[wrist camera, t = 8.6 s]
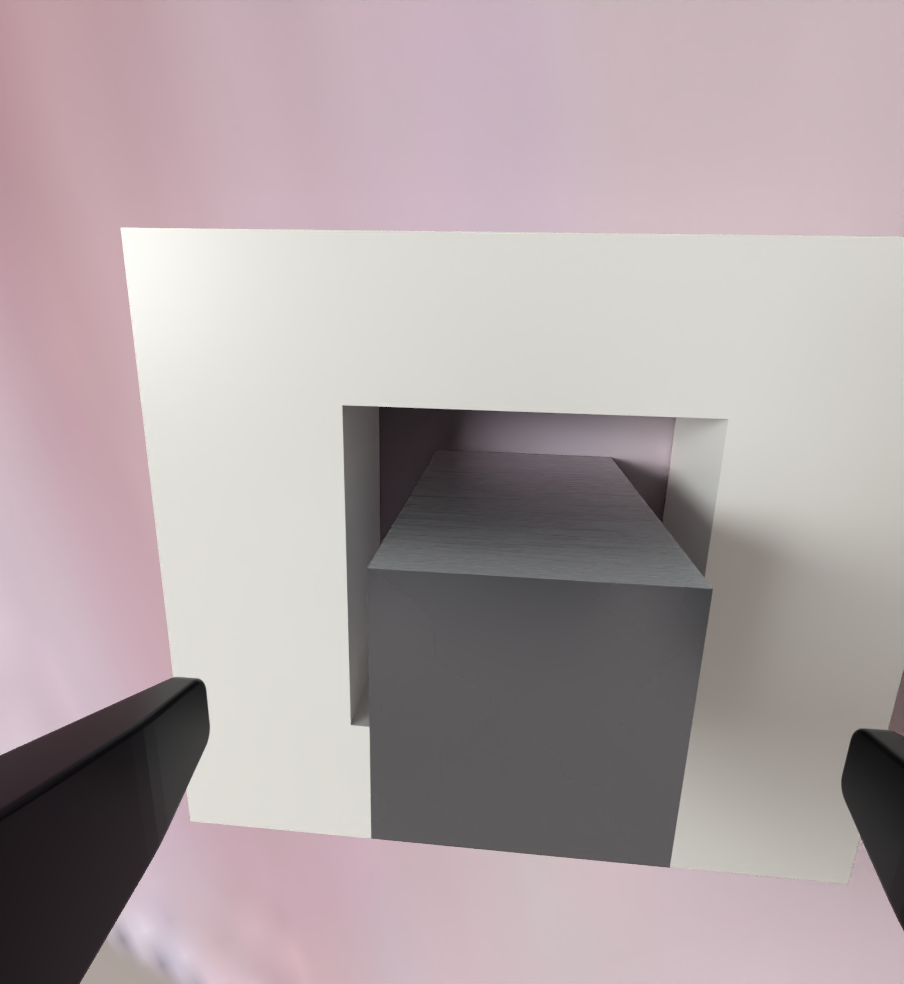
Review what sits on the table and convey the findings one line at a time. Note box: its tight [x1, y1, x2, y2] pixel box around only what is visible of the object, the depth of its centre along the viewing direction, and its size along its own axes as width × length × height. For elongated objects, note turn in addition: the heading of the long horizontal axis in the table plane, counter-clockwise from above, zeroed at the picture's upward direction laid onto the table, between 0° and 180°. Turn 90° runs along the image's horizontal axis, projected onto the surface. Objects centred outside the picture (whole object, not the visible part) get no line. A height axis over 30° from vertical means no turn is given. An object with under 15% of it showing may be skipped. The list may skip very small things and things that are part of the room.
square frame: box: [121, 228, 904, 884], centre depth 14 cm, size 16×14×4 cm
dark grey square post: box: [367, 450, 713, 868], centre depth 12 cm, size 4×4×8 cm
